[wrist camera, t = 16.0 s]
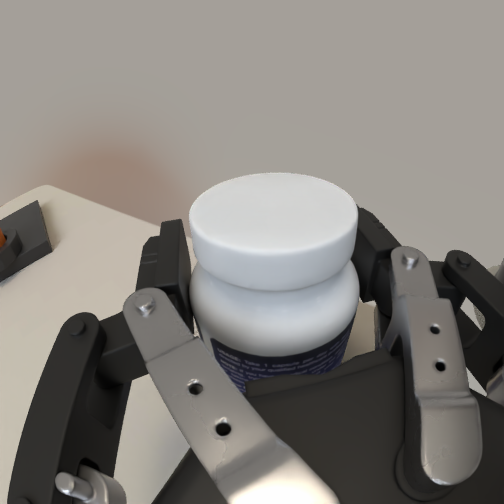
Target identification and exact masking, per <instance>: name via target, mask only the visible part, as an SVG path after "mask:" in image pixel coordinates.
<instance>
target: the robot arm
mask: <svg viewBox="0 0 504 504" xmlns="http://www.w3.org/2000/svg"><path fill="white" fill-rule="evenodd" d="M355 204H356V203H355ZM356 206H357V204H356ZM357 209H358V224H357V232H356V240H355V247H354V251H353V254H352V257H351V259H350V260H351V261H352V263H353V265H354V267H355V269H356V272H357V275H358V279H359V286H360V293H359V297H360V298H361V300H362V302H363V303H365V302H369V301H373V300H375V302H376V307H375V310H374V325H375V351H372V352H368V353H365V354H362V355H358V356H355V357H354V358H352V359H350V360H348V361H347V362H345V363H343V364H341V365H339V366H338V367H336V368H334V369H332V370H330V371H329V372H327V373H324V374H301V375H296V374H282V375H277V376H272V377H267V378H261V379H256V380H250V381H244V384H245V390H246V392H243V393H241V392H240V391H239V389H238V388H237V387H236V385H235V384H234V383H233V382H232V380H231V379H230V378H229V376H228V375H227V374H226V372H225V371H224V370H223V368H222V367H221V366H220V364H219V363H218V362H217V360H216V359H215V358H214V356H213V355H212V353H211V352H210V351H209V349H208V348H207V347H206V345H205V344H204V342H203V341H202V340H201V339H200V338H199V337H198V336H197V337H194V336H193V334H194V322H193V312H192V308H191V303H190V296H189V286H190V280H191V262H190V256H189V251H188V246H187V242H186V237H185V233H184V228H183V223H182V220H181V219H177V220H171V221H165V222H162V223H161V230H160V236H154V237H150V238H149V239H148V241H147V242H146V243H145V245H144V246H143V250H142V255H141V256H142V257H141V261H140V266H139V272H138V278H137V284H136V290H135V292H134V293H133V294H131V295H130V296H129V297H128V298H127V299H126V301H125V303H124V305H123V311H121V312H120V313H118V314H116V315H114V316H111V317H108V318H106V319H103V320H101V321H99V320H98V319H97V317H96V316H95V315H94V314H92V313H88V312H82V313H78V314H76V315H74V316H72V317H70V318H69V319H68V320H67V321H66V322H65V323H64V324H63V326H62V327H61V329H60V332H59V334H58V336H57V338H56V341H55V343H54V345H53V348H52V350H51V352H50V355H49V357H48V360H47V362H46V365H45V367H44V370H43V372H42V375H41V377H40V380H39V383H38V385H37V388H36V391H35V394H34V397H33V400H32V402H31V405H30V408H29V412H28V415H27V418H26V421H25V424H24V428H23V431H22V435H21V438H20V442H19V446H18V450H17V454H16V458H15V462H14V466H13V471H12V476H11V481H10V486H9V492H8V498H7V504H127V500H126V494H125V491H124V489H123V487H122V486H121V485H120V483H119V482H117V481H116V480H115V479H114V478H113V477H114V470H115V464H116V458H117V452H118V446H119V441H120V435H121V430H122V425H123V420H124V415H125V410H126V405H127V401H128V396H129V392H130V387H131V383H132V380H134V379H137V378H139V377H142V376H144V375H147V374H150V376H151V378H152V380H153V382H154V384H155V386H156V388H157V390H158V391H159V393H160V395H161V397H162V399H163V401H164V403H165V404H166V406H167V408H168V410H169V412H170V413H171V415H172V417H173V419H174V420H175V422H176V424H177V425H178V427H179V429H180V430H181V432H182V434H183V435H184V437H185V439H186V440H187V442H188V443H189V445H190V448H189V450H188V451H187V453H186V454H185V456H184V457H183V459H182V460H181V462H180V463H179V465H178V466H177V468H176V469H175V471H174V472H173V474H172V475H171V477H170V478H169V479H168V481H167V482H166V484H165V485H164V487H163V488H162V489H161V491H160V492H159V494H158V495H157V496H156V498H155V499H154V501H153V502H152V503H151V504H504V259H503V261H502V263H501V265H500V267H499V270H498V271H497V272H496V274H495V276H493V275H492V274H491V273H490V272H489V271H488V270H487V269H486V268H485V267H484V266H482V265H481V264H480V263H479V262H478V261H476V259H474V258H473V257H472V256H471V255H469V254H468V253H466V252H463V251H460V250H452V251H450V252H448V253H447V256H446V258H445V261H444V262H439V261H428V259H427V257H426V256H425V255H424V254H423V253H422V252H421V251H419V250H417V249H415V248H412V247H408V246H401V244H400V243H399V242H398V241H397V240H396V239H395V238H394V236H393V235H392V234H391V233H390V232H389V231H388V230H387V229H386V228H385V226H384V225H383V224H382V223H380V222H379V220H378V219H377V218H376V217H375V216H374V215H373V214H372V213H371V212H369V211H367V210H365V209H364V208H359V207H358V206H357ZM466 297H467V298H468V299H469V300H470V301H471V302H472V303H473V304H474V305H475V306H476V307H477V308H478V309H479V310H480V312H481V313H482V314H483V315H484V317H485V326H484V328H483V329H482V331H481V330H480V329H479V328H478V327H477V326H476V325H475V324H474V322H473V321H472V320H471V319H470V318H469V317H468V316H467V315H466V314H465V313H464V312H463V311H462V310H461V309H460V307H461V305H462V303H463V302H464V300H465V298H466ZM466 367H467V368H468V370H469V371H470V372H471V373H472V375H473V376H474V377H475V379H476V380H477V381H478V382H479V384H480V385H481V386H482V387H483V389H484V390H485V391H486V393H487V396H486V397H485V396H484V395H482V394H480V393H478V392H476V391H474V390H472V389H471V388H469V383H468V377H467V371H466Z"/></svg>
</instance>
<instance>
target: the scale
mask: <svg viewBox="0 0 504 504" xmlns="http://www.w3.org/2000/svg"><path fill="white" fill-rule="evenodd" d="M0 228H1V231H2V233H3V235H4V237H5V239H6V242H5V243H4V244H3V246H2V247H0V282H1V281H2V280H4V279H5V278H7V277H9V276H10V275H12V274H14V273H15V272H17V271H19V270H20V269H22V268H24V267H25V266H27V265H29V264H31V263H32V262H34V261H36V260H38V259H39V258H41V257H43V256H45V255H46V254H48V253H50V252H52V249H51V245H50V242H49V238H48V235H47V231H46V228H45V224H44V220H43V216H42V212H41V208H40V205H39V203H38V200H36V201H34V202H33V203H31V204H29V205H27V206H25V207H23V208H21V209H20V210H18V211H16V212H14V213H12V214H11V215H9V216H7V217H5V218H4V219H2V220H0Z"/></svg>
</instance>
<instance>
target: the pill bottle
mask: <svg viewBox="0 0 504 504" xmlns="http://www.w3.org/2000/svg"><path fill="white" fill-rule="evenodd" d="M189 222H190V229H191V235H192V242H193V250H194V253H195V256H196V258H197V260H198V262H197V264H196V266H195V268H194V270H193V272H192V275H191V280H190V286H189V296H190V303H191V308H192V312H193V316H194V319H195V322H196V326H197V329H198V332H199V336H200V339H201V340H202V341H203V342H204V344H205V345H206V347H207V348H208V349H209V351H210V352H211V353H212V355H213V356H214V358H215V359H216V360H217V362H218V363H219V364H220V366H221V367H222V368H223V370H224V371H225V372H226V374H227V375H228V376H229V378H230V379H231V380H232V382H233V383H234V384H235V385H236V387H237V388H238V389H239V391H240V392H241V393H243V392H246V390H245V384H244V381H250V380H256V379H261V378H267V377H272V376H277V375H282V374H296V375H301V374H324V373H327V372H329V371H330V370H332V369H334V368H336V367H338V366H339V365H341V361H342V358H343V355H344V352H345V349H346V346H347V342H348V339H349V336H350V332H351V329H352V325H353V322H354V318H355V315H356V311H357V306H358V302H359V293H360V286H359V279H358V275H357V272H356V269H355V267H354V265H353V263H352V261H351V260H350V259H351V257H352V254H353V251H354V247H355V240H356V232H357V224H358V209H357V206H356V204H355V202H354V200H353V199H352V197H351V196H350V195H349V194H348V193H347V192H346V191H344V190H343V189H341V188H340V187H338V186H337V185H335V184H332V183H331V182H328V181H325V180H323V179H319V178H316V177H312V176H308V175H302V174H295V173H259V174H252V175H246V176H241V177H237V178H233V179H230V180H227V181H225V182H222V183H219V184H217V185H215V186H213V187H211V188H210V189H208V190H207V191H205V192H204V193H203V194H201V195H200V196H199V197H198V199H196V201H195V202H194V203H193V205H192V207H191V209H190V213H189Z"/></svg>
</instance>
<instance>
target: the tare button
mask: <svg viewBox="0 0 504 504" xmlns="http://www.w3.org/2000/svg"><path fill="white" fill-rule="evenodd" d="M5 242H6V239H5V237H4V235H3V233H2V231H1V228H0V247H2V246H3V244H4V243H5Z"/></svg>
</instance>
